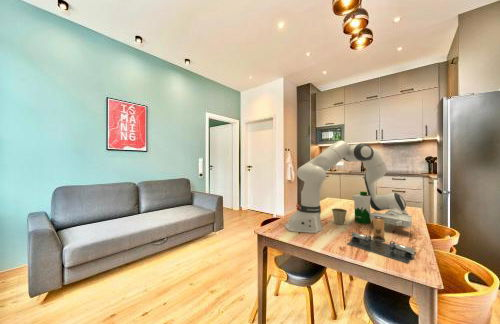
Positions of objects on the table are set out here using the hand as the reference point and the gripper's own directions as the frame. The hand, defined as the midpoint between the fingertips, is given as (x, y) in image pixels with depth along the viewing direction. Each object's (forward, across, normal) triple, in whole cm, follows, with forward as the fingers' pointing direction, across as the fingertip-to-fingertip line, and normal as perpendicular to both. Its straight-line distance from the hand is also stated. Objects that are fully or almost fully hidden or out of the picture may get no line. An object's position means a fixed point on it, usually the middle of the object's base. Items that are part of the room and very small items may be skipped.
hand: (385, 221), depth 110 cm
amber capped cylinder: (+12, 0, +7) cm, 14 cm away
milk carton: (-13, -17, +7) cm, 23 cm away
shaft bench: (+23, +4, +7) cm, 24 cm away
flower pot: (0, -26, +7) cm, 27 cm away
